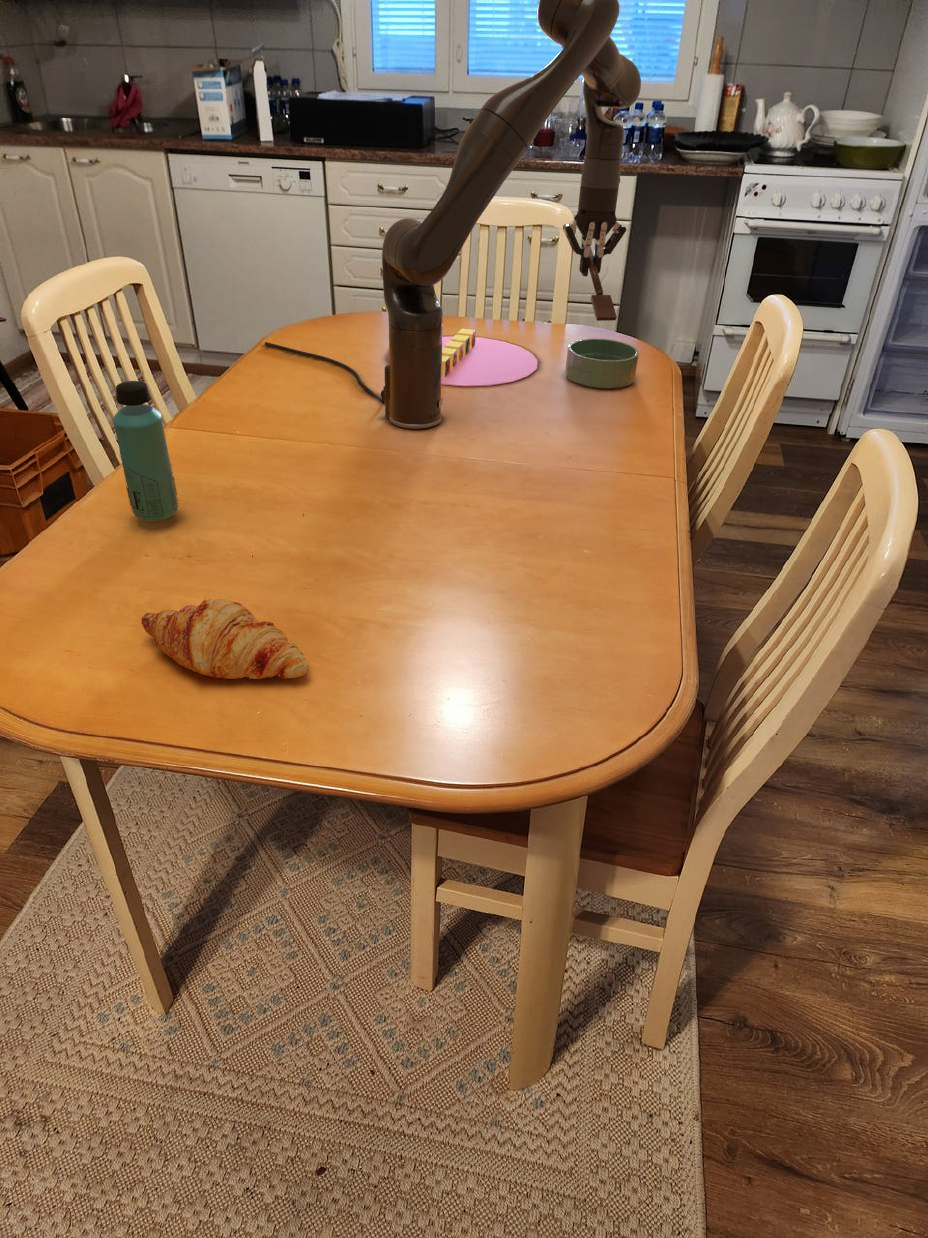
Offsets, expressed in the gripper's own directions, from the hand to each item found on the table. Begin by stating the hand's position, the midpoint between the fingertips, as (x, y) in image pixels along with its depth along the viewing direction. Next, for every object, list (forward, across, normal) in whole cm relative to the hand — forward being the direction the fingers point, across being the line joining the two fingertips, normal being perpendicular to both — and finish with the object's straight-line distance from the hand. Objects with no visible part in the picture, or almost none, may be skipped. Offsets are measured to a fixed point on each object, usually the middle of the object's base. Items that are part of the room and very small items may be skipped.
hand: (589, 275), depth 180 cm
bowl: (+17, 0, +14) cm, 22 cm away
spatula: (+1, 0, +6) cm, 6 cm away
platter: (+17, +26, +1) cm, 31 cm away
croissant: (+18, +72, +100) cm, 124 cm away
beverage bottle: (+18, +83, +66) cm, 107 cm away
